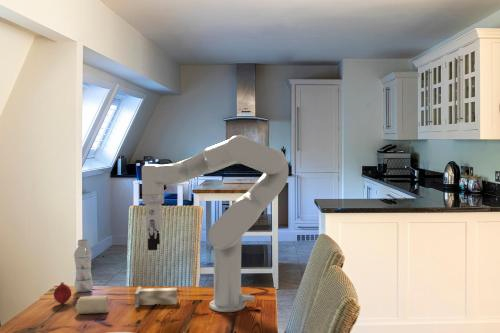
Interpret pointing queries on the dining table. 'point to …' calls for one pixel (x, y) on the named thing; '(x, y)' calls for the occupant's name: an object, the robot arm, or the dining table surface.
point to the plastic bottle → (83, 267)
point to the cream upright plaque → (155, 296)
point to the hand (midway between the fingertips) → (154, 246)
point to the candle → (92, 304)
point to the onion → (62, 293)
